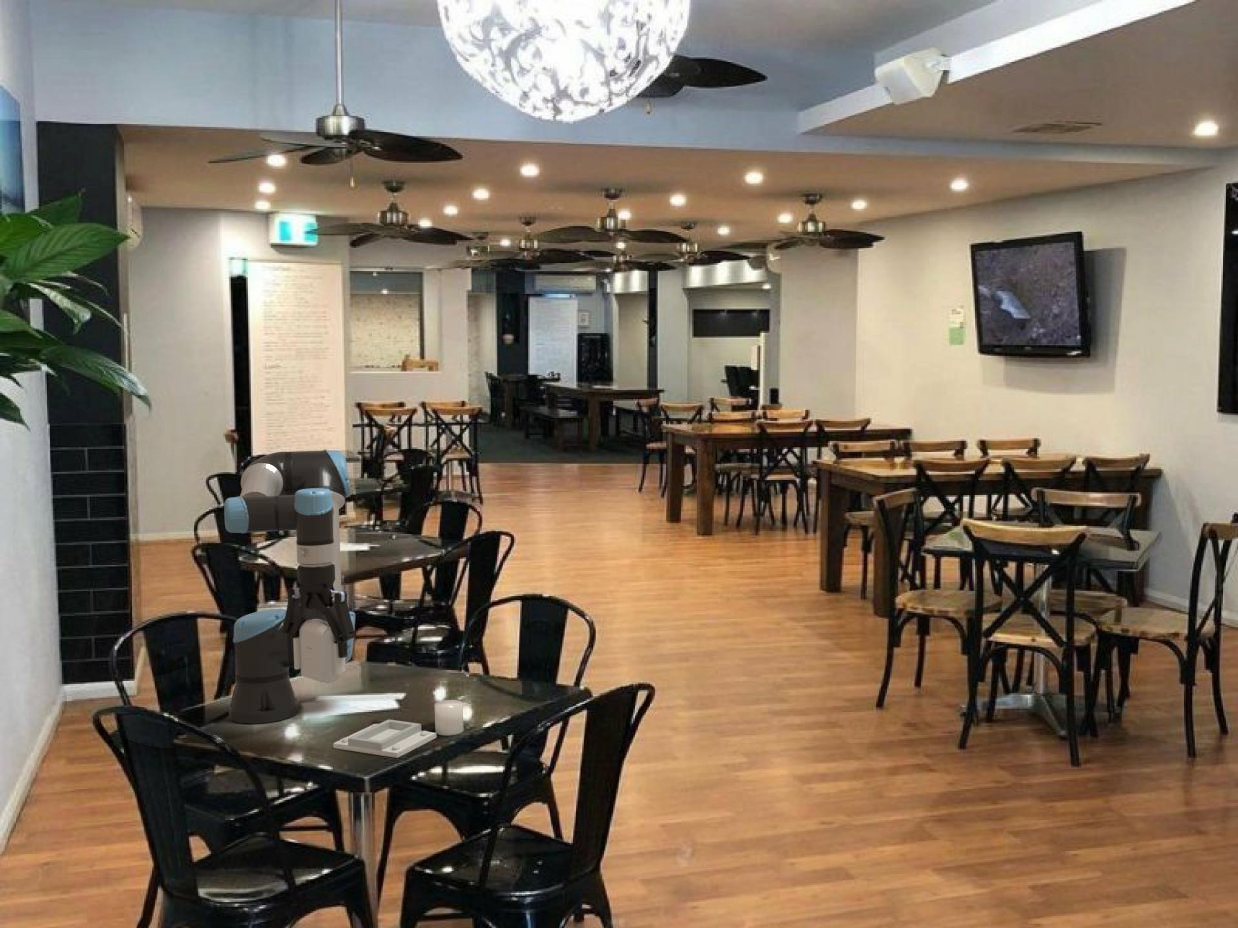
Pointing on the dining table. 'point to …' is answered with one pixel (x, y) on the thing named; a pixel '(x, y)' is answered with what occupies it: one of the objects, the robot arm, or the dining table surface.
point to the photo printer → (317, 651)
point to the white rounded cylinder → (449, 717)
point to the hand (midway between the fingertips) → (319, 670)
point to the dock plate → (386, 739)
